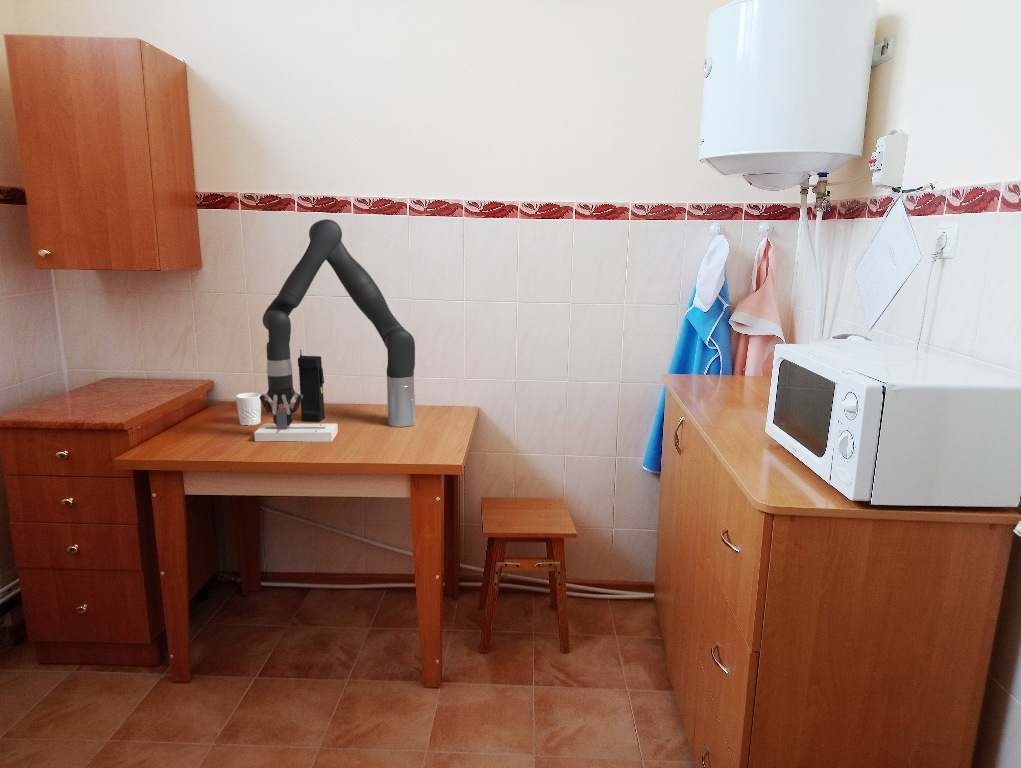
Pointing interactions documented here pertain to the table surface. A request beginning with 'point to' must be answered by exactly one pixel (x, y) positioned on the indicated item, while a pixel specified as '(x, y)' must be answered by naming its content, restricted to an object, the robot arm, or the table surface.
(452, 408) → the table surface
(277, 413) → the fader tab
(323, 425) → the panel
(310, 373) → the portable radio
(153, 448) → the table surface
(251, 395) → the white cup
